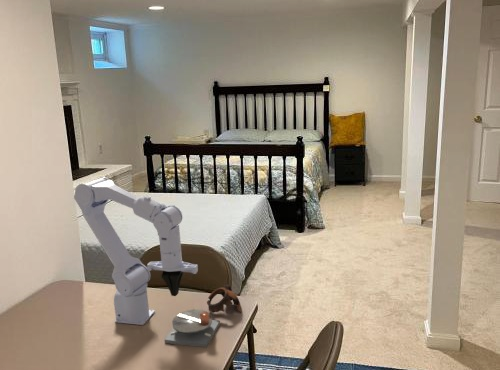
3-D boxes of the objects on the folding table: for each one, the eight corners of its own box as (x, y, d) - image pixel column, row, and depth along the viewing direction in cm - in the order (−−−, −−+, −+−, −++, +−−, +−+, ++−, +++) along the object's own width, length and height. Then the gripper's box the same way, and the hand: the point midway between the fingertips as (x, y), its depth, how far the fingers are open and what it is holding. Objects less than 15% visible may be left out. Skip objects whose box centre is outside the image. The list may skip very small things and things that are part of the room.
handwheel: (219, 331, 125) (217, 313, 124) (181, 344, 120) (179, 325, 119) (203, 314, 135) (201, 297, 133) (167, 325, 130) (166, 307, 128)
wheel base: (164, 342, 124) (164, 338, 123) (181, 319, 135) (181, 315, 135) (206, 347, 121) (206, 343, 120) (220, 323, 132) (219, 319, 132)
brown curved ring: (243, 319, 135) (229, 301, 131) (216, 330, 137) (201, 312, 134) (244, 291, 145) (231, 273, 142) (219, 302, 148) (205, 285, 144)
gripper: (200, 245, 128) (203, 289, 132) (153, 243, 132) (157, 286, 135) (191, 255, 122) (194, 301, 125) (142, 252, 125) (146, 297, 129)
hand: (174, 294), depth 130 cm, fingers closed
